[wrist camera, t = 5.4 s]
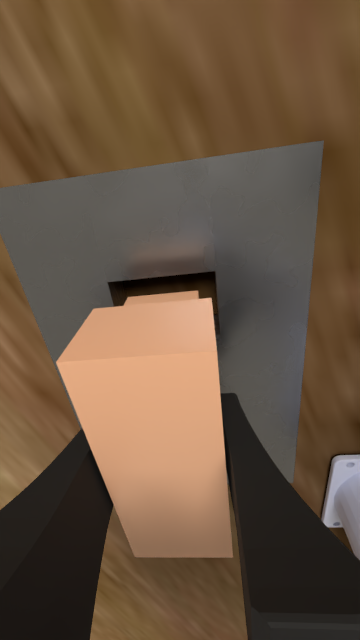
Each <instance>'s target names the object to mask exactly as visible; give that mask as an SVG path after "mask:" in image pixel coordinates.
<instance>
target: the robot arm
mask: <svg viewBox="0 0 360 640" xmlns="http://www.w3.org/2000/svg"><path fill="white" fill-rule="evenodd" d="M220 396H221V409H222V422H223V435H224V448H225V460H226V470H227V475H228V481H229V486H230V492H231V497H232V503H233V508H234V514H235V521H236V527H237V536H238V546H239V556H240V566H241V576H242V585H243V595H244V605H245V615H246V625H247V635H248V640H360V455H339V456H336V457H334V458H333V460H332V463H331V469H330V474H329V480H328V485H327V491H326V496H325V502H324V507H323V513H322V519H321V520H322V521H321V520H320V519H319V517H318V516H317V515H316V514H315V513H314V512H313V511H312V510H311V508H310V507H309V506H308V505H307V504H306V503H305V502H304V500H303V499H302V498H301V497H300V496H299V494H298V493H297V492H296V491H295V490H294V488H293V487H292V486H291V485H290V483H289V482H288V481H287V479H286V478H285V477H284V475H283V474H282V473H281V472H280V470H279V469H278V467H277V466H276V465H275V463H274V462H273V460H272V459H271V457H270V456H269V454H268V453H267V451H266V450H265V448H264V447H263V445H262V444H261V442H260V441H259V439H258V437H257V435H256V434H255V432H254V430H253V429H252V427H251V425H250V423H249V421H248V419H247V417H246V415H245V413H244V411H243V409H242V407H241V405H240V402H239V399H238V396H237V394H235V393H220ZM113 505H114V504H113V502H112V499H111V497H110V494H109V492H108V489H107V487H106V485H105V482H104V480H103V477H102V475H101V472H100V470H99V467H98V465H97V462H96V460H95V457H94V455H93V453H92V450H91V448H90V445H89V443H88V440H87V438H86V435H85V433H84V430H83V428H82V429H81V430H80V431H79V432H78V434H77V435H76V436H75V437H74V438H73V439H72V441H71V442H70V443H69V444H68V445H67V446H66V448H65V449H64V450H63V451H62V452H61V453H60V454H59V455H58V456H57V457H56V459H55V460H54V461H53V462H52V463H51V464H50V465H49V466H48V467H47V468H46V469H45V470H44V471H43V472H42V473H41V474H40V475H39V476H38V477H37V478H36V479H35V480H34V481H33V482H32V483H31V484H30V485H29V486H28V487H27V488H25V489H24V490H23V491H22V492H21V493H20V494H19V495H18V496H16V497H15V498H14V499H13V500H12V501H11V502H9V503H8V504H7V505H6V506H5V507H4V508H2V509H1V510H0V640H90V633H91V626H92V619H93V612H94V605H95V598H96V591H97V585H98V579H99V573H100V567H101V560H102V555H103V549H104V544H105V538H106V533H107V528H108V524H109V520H110V516H111V512H112V508H113ZM328 527H343V528H344V530H345V533H346V535H347V538H348V540H349V543H350V545H351V548H352V550H353V553H354V554H353V553H352V552H351V551H350V550H349V549H348V548H347V547H346V546H345V545H344V544H343V543H342V542H341V541H340V540H339V539H338V538H337V537H336V536H335V535H334V534H333V533H332V532H331V531H330V530H329V528H328Z"/></svg>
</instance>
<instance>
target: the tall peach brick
mask: <svg viewBox="0 0 360 640" xmlns="http://www.w3.org/2000/svg"><path fill="white" fill-rule="evenodd" d="M56 364H57V366H58V369H59V371H60V374H61V376H62V379H63V381H64V384H65V386H66V388H67V391H68V393H69V396H70V398H71V401H72V403H73V406H74V408H75V411H76V413H77V416H78V418H79V421H80V423H81V425H82V428H83V430H84V433H85V435H86V438H87V440H88V443H89V445H90V448H91V450H92V453H93V455H94V457H95V460H96V462H97V465H98V467H99V470H100V472H101V475H102V477H103V480H104V482H105V485H106V487H107V489H108V492H109V494H110V497H111V499H112V502H113V504H114V507H115V509H116V512H117V514H118V517H119V519H120V522H121V524H122V526H123V529H124V531H125V534H126V536H127V539H128V541H129V544H130V546H131V549H132V551H133V554H134V556H135V557H189V558H233V550H232V538H231V525H230V512H229V499H228V486H227V473H226V460H225V448H224V435H223V422H222V409H221V396H220V383H219V370H218V357H217V346H216V336H215V327H214V317H213V307H212V298H204V299H199V294H198V291H187V292H177V293H166V294H156V295H145V296H134V297H128V298H127V300H126V302H125V304H124V306H117V307H106V308H96V309H93V310H92V312H91V313H90V315H89V316H88V317H87V319H86V320H85V322H84V323H83V324H82V326H81V327H80V329H79V330H78V332H77V333H76V334H75V336H74V337H73V339H72V340H71V342H70V343H69V344H68V346H67V347H66V349H65V350H64V352H63V353H62V354H61V356H60V357H59V359H58V360H57V362H56Z"/></svg>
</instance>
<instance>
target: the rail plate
mask: <svg viewBox="0 0 360 640" xmlns="http://www.w3.org/2000/svg"><path fill="white" fill-rule="evenodd" d="M323 142H324V141H317V142H310V143H303V144H297V145H290V146H283V147H276V148H269V149H263V150H256V151H249V152H242V153H235V154H229V155H222V156H215V157H208V158H201V159H195V160H188V161H181V162H174V163H167V164H161V165H154V166H147V167H140V168H133V169H127V170H120V171H113V172H106V173H99V174H93V175H86V176H79V177H72V178H65V179H59V180H52V181H45V182H38V183H31V184H25V185H18V186H11V187H4V188H0V234H1V236H2V238H3V241H4V243H5V246H6V248H7V251H8V253H9V255H10V258H11V260H12V263H13V265H14V268H15V270H16V272H17V275H18V277H19V280H20V282H21V285H22V287H23V290H24V292H25V294H26V297H27V299H28V302H29V304H30V307H31V309H32V311H33V314H34V316H35V319H36V321H37V324H38V326H39V329H40V331H41V333H42V336H43V338H44V341H45V343H46V346H47V348H48V350H49V353H50V355H51V358H52V360H53V363H54V365H55V367H56V370H57V372H58V375H59V377H60V380H61V382H62V385H63V387H64V389H65V392H66V394H67V397H68V399H69V402H70V404H71V406H72V409H73V411H74V414H75V416H76V419H77V421H78V424H79V426H80V428H81V429H82V425H81V423H80V421H79V418H78V416H77V413H76V411H75V408H74V406H73V403H72V401H71V398H70V396H69V393H68V391H67V388H66V386H65V384H64V381H63V379H62V376H61V374H60V371H59V369H58V366H57V364H56V362H57V360H58V359H59V357H60V356H61V354H62V353H63V352H64V350H65V349H66V347H67V346H68V344H69V343H70V342H71V340H72V339H73V337H74V336H75V334H76V333H77V332H78V330H79V329H80V327H81V326H82V324H83V323H84V322H85V320H86V319H87V317H88V316H89V315H90V313H91V312H92V310H93V309H96V308H106V307H117V306H124V304H125V302H126V300H127V299H126V294H125V290H124V286H123V282H122V281H124V280H134V279H143V278H153V277H163V276H172V275H182V274H191V273H201V272H211V271H214V272H215V285H216V298H217V311H218V314H215V315H213V317H214V327H215V336H216V346H217V357H218V370H219V383H220V393H235V394H237V396H238V399H239V402H240V405H241V407H242V409H243V411H244V413H245V415H246V417H247V419H248V421H249V423H250V425H251V427H252V429H253V430H254V432H255V434H256V435H257V437H258V439H259V441H260V442H261V444H262V445H263V447H264V448H265V450H266V451H267V453H268V454H269V456H270V457H271V459H272V460H273V462H274V463H275V465H276V466H277V467H278V469H279V470H280V472H281V473H282V474H283V475H284V477H285V478H286V479H287V481H288V482H289V483H293V479H294V467H295V456H296V445H297V434H298V423H299V411H300V400H301V389H302V378H303V366H304V355H305V344H306V333H307V322H308V310H309V299H310V288H311V277H312V266H313V254H314V243H315V232H316V221H317V209H318V198H319V187H320V176H321V165H322V153H323ZM226 473H227V470H226ZM227 484H229V481H228V475H227Z"/></svg>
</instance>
